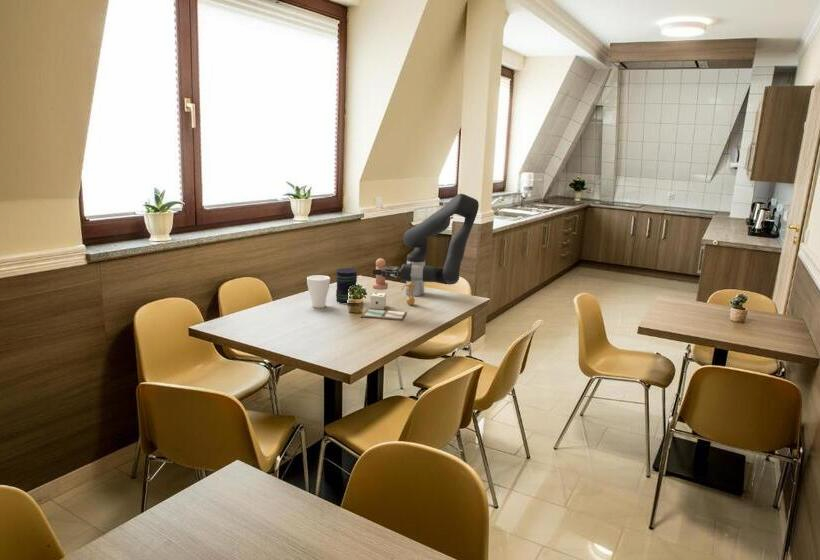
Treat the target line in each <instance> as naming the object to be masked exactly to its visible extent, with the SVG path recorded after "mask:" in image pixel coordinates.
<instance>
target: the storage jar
mask: <svg viewBox="0 0 820 560" xmlns="http://www.w3.org/2000/svg"><path fill="white" fill-rule="evenodd" d="M335 272H336V273H335V274H336V275H335V280H336V281H335V282H336V291H335V297H336V299H335V302H336V301H337V302H336V303H338V302H339V303H338V304H342V303H347V300H348V289H349V287H350V286H352V285H356V286H357V278H358V276H357V275H358V274H357V273H358V271H357V269H356V268H354V269H353V268H339V269H336V271H335Z"/></svg>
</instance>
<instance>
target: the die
mask: <svg viewBox="0 0 820 560" xmlns="http://www.w3.org/2000/svg"><path fill="white" fill-rule="evenodd" d="M386 304H387V293H381V292H373V293H372V294H371V295H370V304H369V305H370V307H369V308H370V309H373V310H385V308H386V307H387V305H386Z"/></svg>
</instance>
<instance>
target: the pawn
mask: <svg viewBox="0 0 820 560" xmlns="http://www.w3.org/2000/svg"><path fill="white" fill-rule="evenodd" d="M386 264H387V263H386V260H385V259H384V258H383V257H381V258H380V257H379V258H378V259H377V260H376V261H375V268H376V269H377V270H385V267H386V266H387V265H386ZM388 287H389V283H388V282H386V277H382V276H381V275H375V282H373V283H372V288H373V290H378V291H379V290H380V291H383V290H387V289H388Z"/></svg>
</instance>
